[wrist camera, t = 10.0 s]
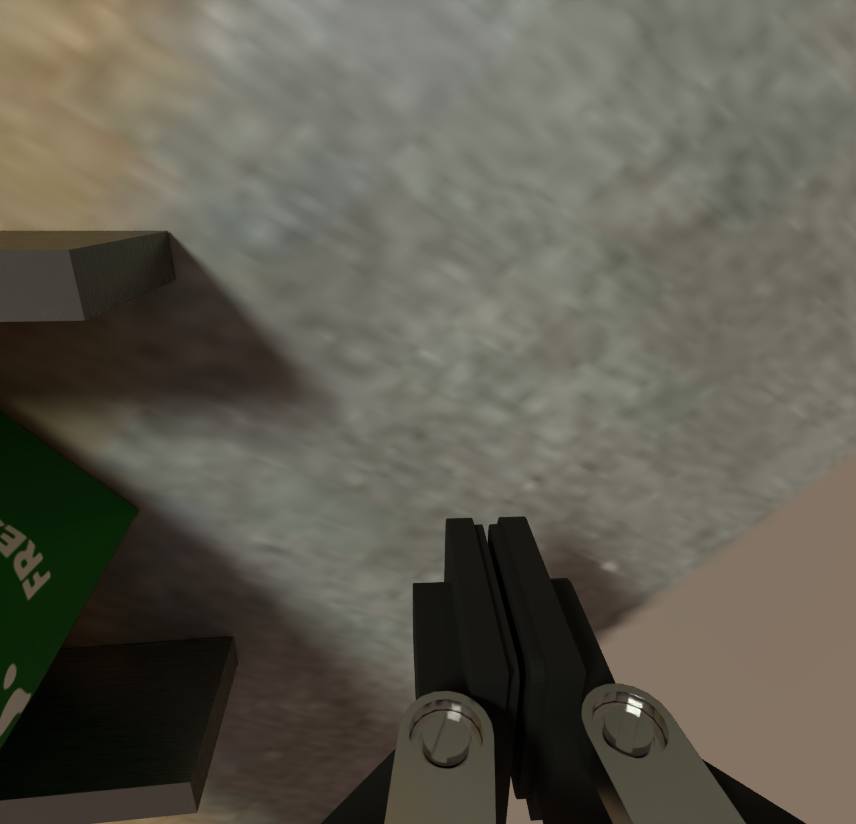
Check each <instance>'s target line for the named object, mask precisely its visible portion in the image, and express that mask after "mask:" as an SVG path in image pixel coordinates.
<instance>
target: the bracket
mask: <svg viewBox="0 0 856 824" xmlns="http://www.w3.org/2000/svg"><path fill="white" fill-rule="evenodd" d="M173 280H175V273H174V266H173V260H172V254H171V248H170V242H169V236H168V231H0V322H29V321H85V320H87V319H89V318H92V317H94V316H96V315H98V314H100V313H103V312H105V311H107V310H109V309H111V308H114V307H116V306H118V305H120V304H122V303H125V302H127V301H129V300H131V299H134V298H136V297H138V296H140V295H142V294H145V293H147V292H149V291H151V290H153V289H156V288H158V287H160V286H162V285H164V284H167V283H169V282H171V281H173ZM237 664H238V662H237V656H236V650H235V644H234V638H233V637H224V638H210V639H196V640H183V641H169V642H155V643H141V644H128V645H114V646H100V647H86V648H72V649H60V650H59V651H58V653H57V655H56V657H55V658H54V660H53V662H52V664H51V665H50V667H49V669H48V671H47V672H46V674H45V676H44V678H43V680H42V681H41V683H40V685H39V686H38V688H37V690H36V691H35V693H34V695H33V696H32V698H31V700H30V701H29V703H28V705H27V707H26V708H25V710H24V711H23V713H22V715H21V716H20V718H19V720H18V721H17V723H16V724H15V726H14V728H13V729H12V731H11V733H10V734H9V736H8V737H7V739H6V741H5V742H4V744H3V746H2V747H1V749H0V824H93V823H103V822H113V821H122V820H132V819H142V818H151V817H161V816H171V815H180V814H190V813H197V811H198V808H199V804H200V800H201V797H202V793H203V789H204V786H205V782H206V778H207V775H208V771H209V767H210V764H211V760H212V756H213V753H214V749H215V745H216V741H217V738H218V734H219V730H220V727H221V723H222V719H223V716H224V712H225V708H226V705H227V701H228V697H229V694H230V690H231V686H232V683H233V679H234V675H235V671H236V668H237Z"/></svg>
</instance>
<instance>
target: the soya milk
mask: <svg viewBox="0 0 856 824" xmlns="http://www.w3.org/2000/svg"><path fill="white" fill-rule="evenodd" d="M137 513H138V510H137V509H136V508H134V507H133V506H132V505H130V504H129V503H127V502H126V501H125V500H123V499H122V498H120V497H119V496H118V495H116V494H115V493H113V492H112V491H110V490H109V489H108V488H106V487H105V486H103V485H102V484H101V483H99V482H98V481H96V480H95V479H94V478H92V477H91V476H89V475H88V474H87V473H85V472H84V471H82V470H81V469H80V468H78V467H77V466H75V465H74V464H73V463H71V462H70V461H68V460H67V459H66V458H64V457H63V456H61V455H60V454H59V453H57V452H56V451H54V450H53V449H52V448H50V447H49V446H47V445H46V444H44V443H43V442H42V441H40V440H39V439H37V438H36V437H35V436H33V435H32V434H30V433H29V432H28V431H26V430H25V429H23V428H22V427H21V426H19V425H18V424H16V423H15V422H14V421H12V420H11V419H9V418H8V417H7V416H5V415H4V414H2V413H1V412H0V749H1V747H2V746H3V744H4V742H5V741H6V739H7V737H8V736H9V734H10V733H11V731H12V729H13V728H14V726H15V724H16V723H17V721H18V720H19V718H20V716H21V715H22V713H23V711H24V710H25V708H26V707H27V705H28V703H29V701H30V700H31V698H32V696H33V695H34V693H35V691H36V690H37V688H38V686H39V685H40V683H41V681H42V680H43V678H44V676H45V674H46V672H47V671H48V669H49V667H50V665H51V664H52V662H53V660H54V658H55V657H56V655H57V653H58V651H59V650H60V648H61V646H62V644H63V642H64V641H65V639H66V637H67V635H68V634H69V632H70V630H71V628H72V627H73V625H74V623H75V621H76V620H77V618H78V616H79V614H80V613H81V611H82V609H83V607H84V606H85V604H86V602H87V600H88V598H89V597H90V595H91V593H92V591H93V590H94V588H95V586H96V584H97V583H98V581H99V579H100V577H101V576H102V574H103V572H104V570H105V569H106V567H107V565H108V563H109V561H110V560H111V558H112V556H113V554H114V553H115V551H116V549H117V547H118V546H119V544H120V542H121V540H122V538H123V537H124V535H125V533H126V531H127V530H128V528H129V526H130V525H131V523H132V521H133V519H134V518H135V516H136V514H137Z"/></svg>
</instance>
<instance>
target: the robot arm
mask: <svg viewBox="0 0 856 824" xmlns="http://www.w3.org/2000/svg"><path fill="white" fill-rule="evenodd" d="M413 644H414V669H415V693H416V701H415V702H413V703H412V704H411V705H410V706H409V708H408V709H407V710H406V712H405V713H404V714H403V717H402V720H401V723H400V726H399V730H398V737H397V744H396V749H395V750H394V751H393V752H392V753H391V754H390V755H389V756H388V757H387V758H386V759H385V760H384V761H383V762H382V763H381V764H380V765H379V766H378V767H377V768H376V769H375V770H374V771H373V772H372V773H371V774H370V775H369V776H368V777H367V778H366V779H365V780H364V781H363V782H362V783H361V784H360V785H359V786H358V787H357V788H356V789H355V790H354V791H353V792H352V793H351V794H350V795H349V796H348V797H347V798H346V799H345V800H344V801H343V802H342V803H341V804H340V805H339V806H338V807H337V808H336V809H335V810H334V811H333V812H332V813H331V814H330V815H329V816H328V817H327V818H326V819H325V820H324V821H323V822H322V823H321V824H506V817H507V807H508V797H509V787H510V777H511V778H512V784H513V789H514V793H515V797H516V799H526V801H527V805H528V810H529V815H530V819H531V820H543V824H805V823H804V822H803V821H801V820H799V819H798V818H796V817H795V816H793V815H791V814H790V813H788V812H787V811H785V810H783V809H782V808H780V807H778V806H777V805H775V804H773V803H772V802H770V801H769V800H767V799H766V798H764V797H762V796H761V795H759V794H758V793H756V792H754V791H753V790H751V789H749V788H748V787H746V786H745V785H743V784H741V783H740V782H738V781H736V780H735V779H733V778H731V777H730V776H729V775H727V774H725V773H724V772H722V771H720V770H719V769H717V768H716V767H714V766H712V765H711V764H709V763H708V762H706V761H704V760H703V759H701V757H700V756H699V754H698V753H697V752H696V750H695V749H694V747H693V746H692V744H691V743H690V741H689V740H688V738H687V737H686V735H685V734H684V733H683V731H682V730H681V728H680V727H679V725H678V724H677V722H676V721H675V720H674V718H673V717H672V715H671V714H670V713H669V712H668V710H667V709H666V708H665V707H664V706H663V705H662V704H661V703H660V702H659V701H658V700H656V699H655V698H654V697H652V696H651V695H650V694H648V693H646V692H644V691H642V690H640V689H637V688H636V687H633V686H628V685H624V684H615V681H614V679H613V677H612V674H611V672H610V670H609V667H608V665H607V663H606V661H605V658H604V656H603V654H602V651H601V649H600V647H599V645H598V642H597V640H596V638H595V636H594V633H593V631H592V629H591V626H590V624H589V622H588V620H587V617H586V615H585V613H584V611H583V608H582V606H581V604H580V601H579V599H578V597H577V595H576V592H575V590H574V588H573V586H572V584H571V582H570V580H568V579H567V578H557V579H550V578H549V575H548V573H547V570H546V567H545V565H544V562H543V560H542V557H541V555H540V552H539V550H538V547H537V544H536V542H535V539H534V537H533V534H532V532H531V529H530V526H529V524H528V521H527V519H526V517H499V518H498V522H497V524H490V525H489V530H488V544H487V540H486V536H485V532H484V528H483V525H474V522H473V519H472V518H450V519H446V531H445V571H444V582H435V583H413Z"/></svg>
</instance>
